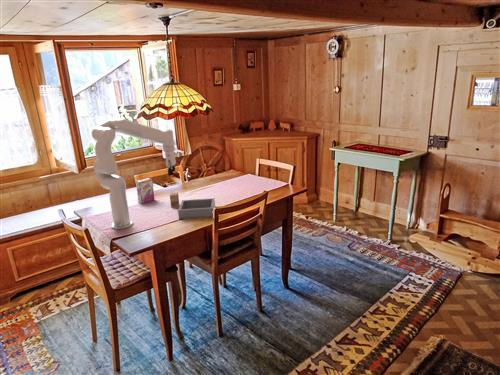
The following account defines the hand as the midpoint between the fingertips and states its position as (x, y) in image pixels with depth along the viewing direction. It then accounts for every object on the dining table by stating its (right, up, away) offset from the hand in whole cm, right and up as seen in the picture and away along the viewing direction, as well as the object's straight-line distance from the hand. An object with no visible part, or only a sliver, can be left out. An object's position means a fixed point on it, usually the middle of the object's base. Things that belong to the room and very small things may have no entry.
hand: (172, 173), depth 245 cm
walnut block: (+1, -23, +7) cm, 24 cm away
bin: (+19, -26, -8) cm, 33 cm away
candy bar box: (-23, -20, +20) cm, 36 cm away
